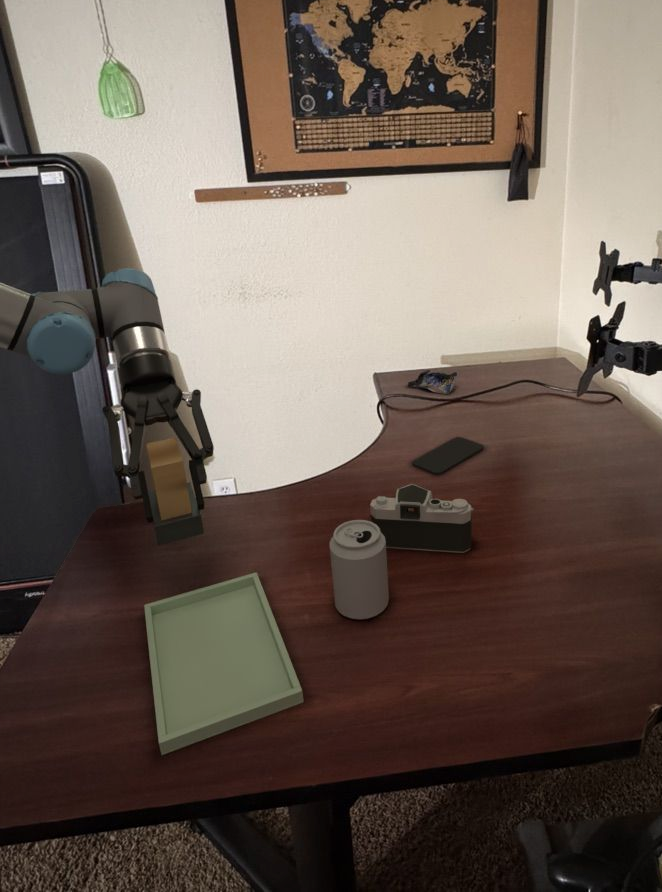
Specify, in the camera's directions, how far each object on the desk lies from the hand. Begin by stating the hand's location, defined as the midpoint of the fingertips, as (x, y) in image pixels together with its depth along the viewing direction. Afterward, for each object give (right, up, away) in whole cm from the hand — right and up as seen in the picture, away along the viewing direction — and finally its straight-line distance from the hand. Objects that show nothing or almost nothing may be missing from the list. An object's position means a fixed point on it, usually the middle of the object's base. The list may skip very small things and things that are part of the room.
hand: (176, 513), depth 85 cm
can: (+25, -13, +2) cm, 28 cm away
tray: (+7, -17, -5) cm, 19 cm away
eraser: (-1, -2, +4) cm, 5 cm away
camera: (+34, -8, +16) cm, 39 cm away
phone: (+41, +2, +41) cm, 58 cm away
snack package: (+41, +16, +78) cm, 89 cm away
